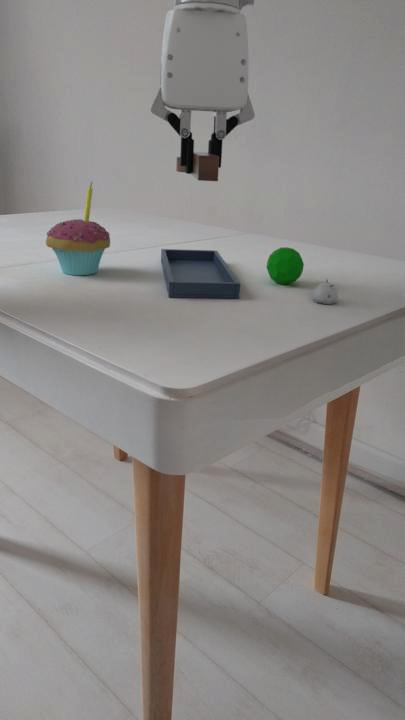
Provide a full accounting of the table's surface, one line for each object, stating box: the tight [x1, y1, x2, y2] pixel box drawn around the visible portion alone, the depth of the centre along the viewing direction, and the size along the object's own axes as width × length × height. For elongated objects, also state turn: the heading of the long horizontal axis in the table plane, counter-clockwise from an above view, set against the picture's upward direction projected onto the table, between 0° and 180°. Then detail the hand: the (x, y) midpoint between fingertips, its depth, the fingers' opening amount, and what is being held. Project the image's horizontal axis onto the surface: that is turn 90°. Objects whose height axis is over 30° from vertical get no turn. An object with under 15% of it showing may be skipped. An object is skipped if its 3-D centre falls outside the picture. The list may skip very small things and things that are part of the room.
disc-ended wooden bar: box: [175, 151, 220, 182], centre depth 69 cm, size 17×5×3 cm, turn 6°
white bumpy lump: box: [311, 279, 339, 305], centre depth 70 cm, size 3×4×3 cm
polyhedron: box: [266, 246, 305, 285], centre depth 77 cm, size 5×5×5 cm
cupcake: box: [45, 181, 111, 276], centre depth 76 cm, size 9×8×12 cm
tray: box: [160, 248, 241, 300], centre depth 78 cm, size 9×21×2 cm, turn 6°
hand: (200, 172), depth 70 cm, fingers closed on disc-ended wooden bar, 2 cm apart
